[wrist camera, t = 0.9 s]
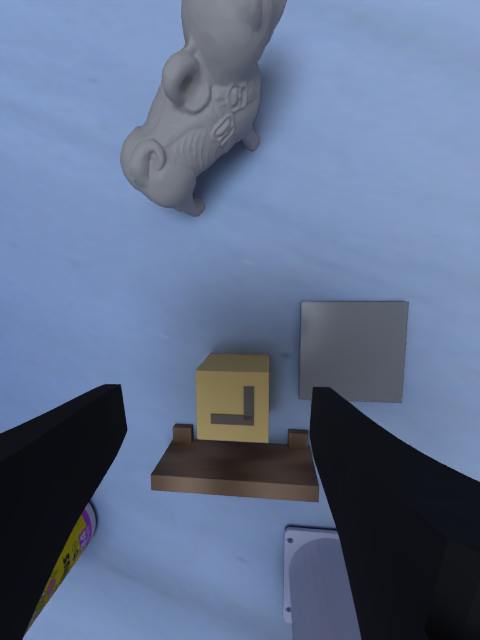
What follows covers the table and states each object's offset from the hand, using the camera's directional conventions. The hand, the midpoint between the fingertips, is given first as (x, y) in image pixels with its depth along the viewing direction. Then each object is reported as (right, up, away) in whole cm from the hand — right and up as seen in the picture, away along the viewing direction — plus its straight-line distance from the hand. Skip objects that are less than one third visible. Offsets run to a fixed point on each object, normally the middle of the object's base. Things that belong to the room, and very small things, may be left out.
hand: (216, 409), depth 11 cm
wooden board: (+1, -8, +15) cm, 17 cm away
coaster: (+10, +1, +13) cm, 16 cm away
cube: (+1, -2, +14) cm, 14 cm away
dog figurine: (-1, +17, +12) cm, 21 cm away
